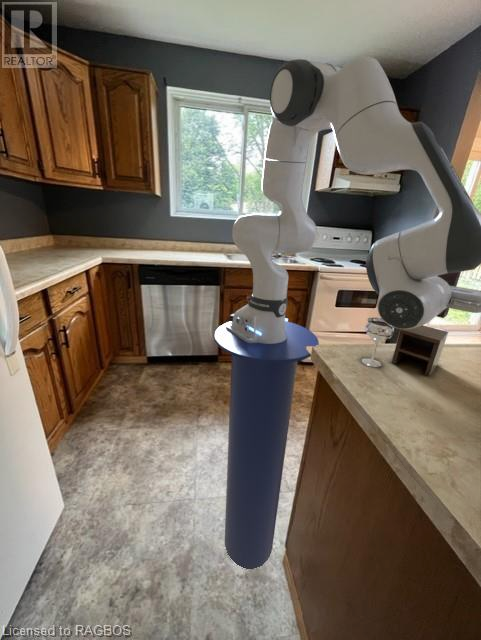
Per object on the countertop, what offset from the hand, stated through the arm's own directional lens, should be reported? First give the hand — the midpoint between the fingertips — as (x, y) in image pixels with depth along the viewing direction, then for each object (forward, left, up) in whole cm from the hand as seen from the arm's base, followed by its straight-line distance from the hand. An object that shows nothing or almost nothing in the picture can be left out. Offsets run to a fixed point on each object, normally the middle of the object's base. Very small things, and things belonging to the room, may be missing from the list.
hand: (439, 288), depth 66 cm
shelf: (-1, +1, -22) cm, 22 cm away
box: (0, -1, -7) cm, 7 cm away
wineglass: (-9, -8, -22) cm, 25 cm away
